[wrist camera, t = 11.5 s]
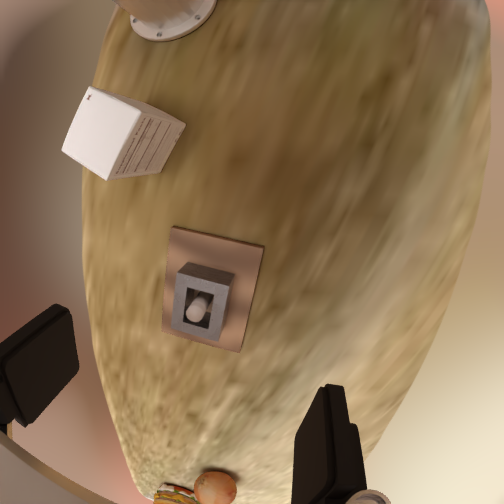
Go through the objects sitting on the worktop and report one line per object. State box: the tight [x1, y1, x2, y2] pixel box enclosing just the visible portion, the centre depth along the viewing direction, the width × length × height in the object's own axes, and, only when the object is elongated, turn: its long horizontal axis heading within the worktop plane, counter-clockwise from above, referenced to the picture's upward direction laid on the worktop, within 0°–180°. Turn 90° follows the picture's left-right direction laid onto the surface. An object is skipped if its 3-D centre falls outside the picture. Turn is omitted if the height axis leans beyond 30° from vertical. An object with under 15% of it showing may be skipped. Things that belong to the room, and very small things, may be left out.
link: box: [171, 262, 235, 342], centre depth 37 cm, size 8×6×4 cm
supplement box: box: [62, 86, 186, 181], centre depth 29 cm, size 7×7×13 cm
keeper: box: [162, 226, 264, 353], centre depth 37 cm, size 16×12×6 cm
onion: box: [194, 471, 237, 504], centre depth 49 cm, size 10×10×10 cm
